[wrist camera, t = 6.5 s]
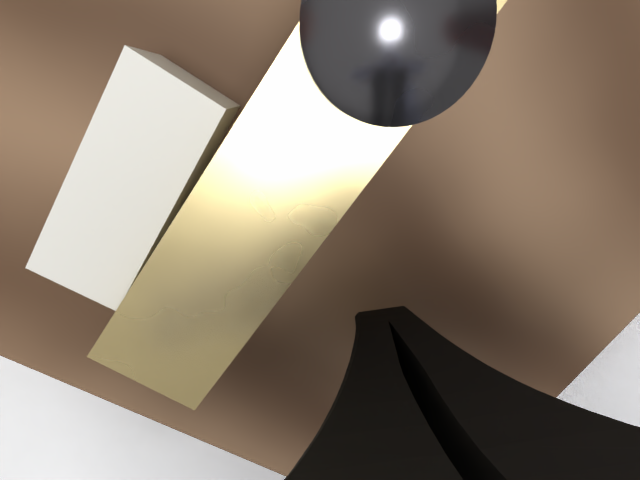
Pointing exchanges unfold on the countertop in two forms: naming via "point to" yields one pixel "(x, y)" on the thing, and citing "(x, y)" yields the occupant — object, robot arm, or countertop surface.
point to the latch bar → (289, 179)
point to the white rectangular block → (130, 175)
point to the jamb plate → (354, 207)
